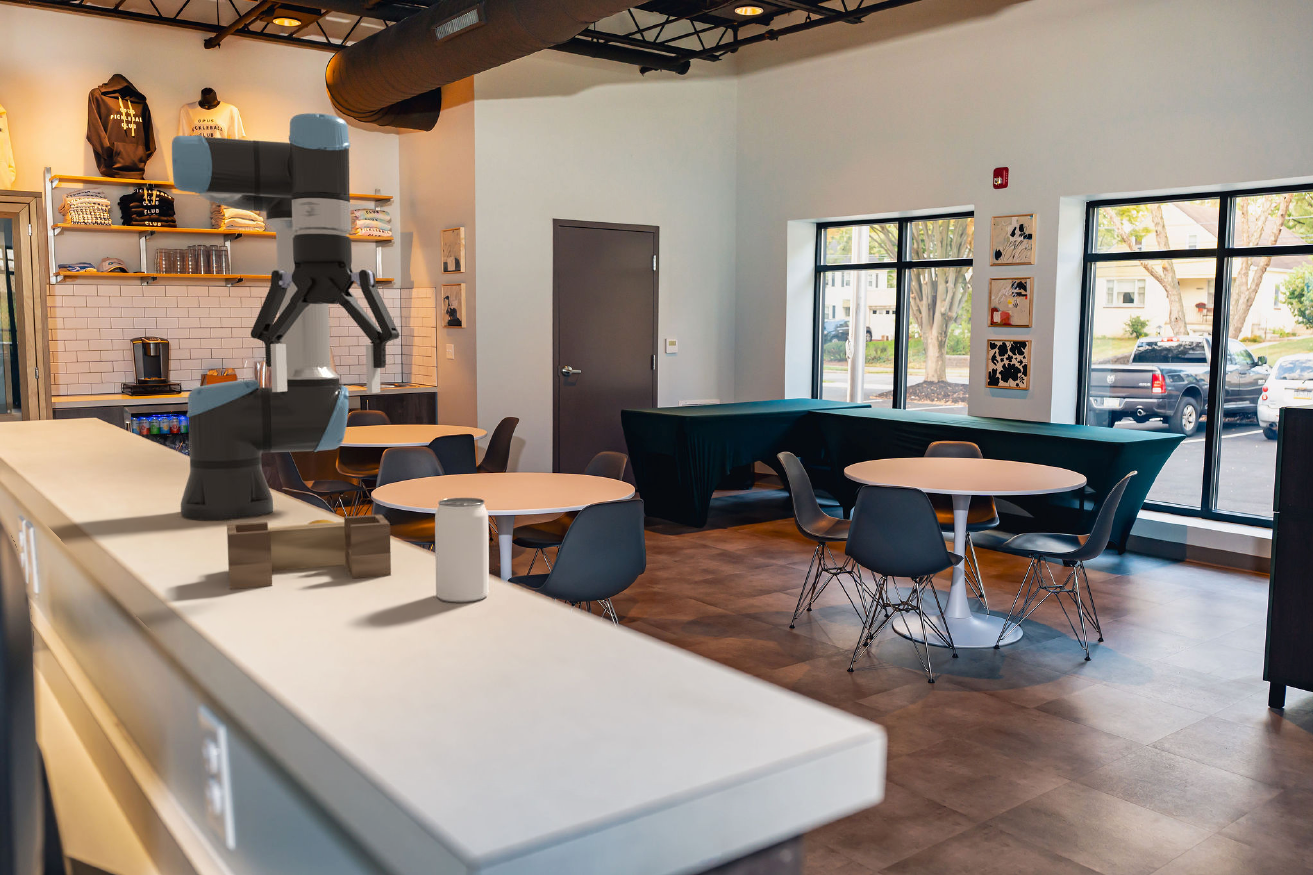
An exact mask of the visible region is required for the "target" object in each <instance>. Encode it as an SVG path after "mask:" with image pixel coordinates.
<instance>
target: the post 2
mask: <svg viewBox="0 0 1313 875" xmlns="http://www.w3.org/2000/svg"><path fill="white" fill-rule="evenodd" d="M343 522H344V529H345V565H344V566H345V568H346V570H347V571H348V573H349V575H350V576H351V578H352V579H359V578H360V579H363V578H373V577H381V576H382V577H383V576H391V575H392V569H391V568H392V561H391V559H392V558H391V557H392V556H391V523H390V522H389V521H388V520H387V519H386V518H385V517H384V516H383V515H382V514H381V513H379V514H369V515H368V514H367V515H366V514H365V515H352V516H351V515H350V516H343Z"/></svg>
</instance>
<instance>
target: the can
mask: <svg viewBox="0 0 1313 875" xmlns="http://www.w3.org/2000/svg"><path fill="white" fill-rule="evenodd" d="M485 502H486V501H485V500H484V499H482V498H478V497H477V498H476V497H453V498H445V499H441V500H439V501H438V507H437V509H436V512H435V516H434V532H435V533H434V538H435V540H434V542H435V544H434V545H435V546H434V548H435V555H434V556H435V592H436V593H435V595H436V597H437V598H438V599H439V600H441V601H442V602H446V603H454V604H462V603H463V604H465V603H474V602H477V601H478V602H479V601H481V600H484V599H485V598H486V597H487V596H488V595H489V593H490V592H489V590H490V572H489V571H490V569H489V568H490V566H489V565H490V559H489V557H490V556H489V555H490V553H489V552H490V548H489V546H490V545H489V541H490V539H489V512H488V510H487V508H486V506H485Z"/></svg>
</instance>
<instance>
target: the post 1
mask: <svg viewBox="0 0 1313 875" xmlns="http://www.w3.org/2000/svg"><path fill="white" fill-rule="evenodd" d="M268 525H269V523H268V521H259V522H242V523H230V524H229V523H227V524H226V540H227V561H228V562H227V565H228V581H229V590H236V589H237V590H238V589H246V588H247V589H248V588H258V587H271V586H273V571H272V562H271V532H270V530H268V527H269V526H268Z"/></svg>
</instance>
